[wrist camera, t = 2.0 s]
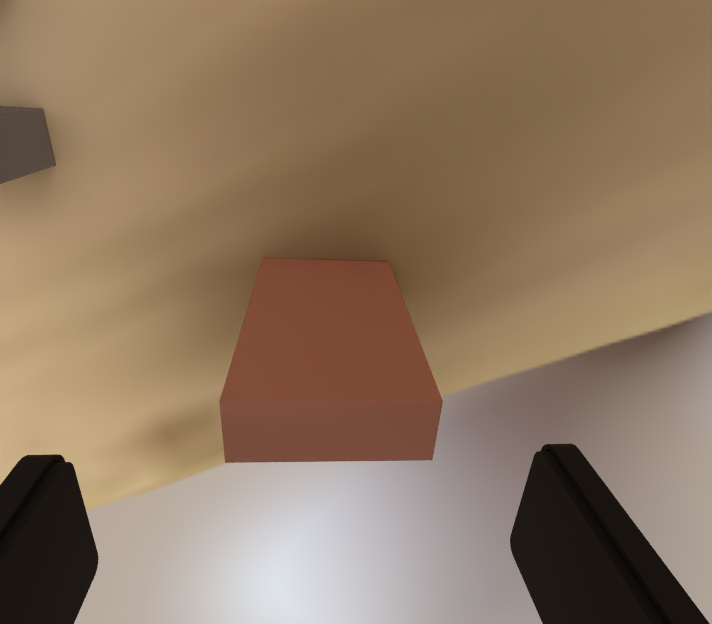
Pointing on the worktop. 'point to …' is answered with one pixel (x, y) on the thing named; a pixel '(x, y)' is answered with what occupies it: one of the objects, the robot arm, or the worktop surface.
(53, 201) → the worktop surface
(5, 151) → the domino
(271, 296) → the red domino
